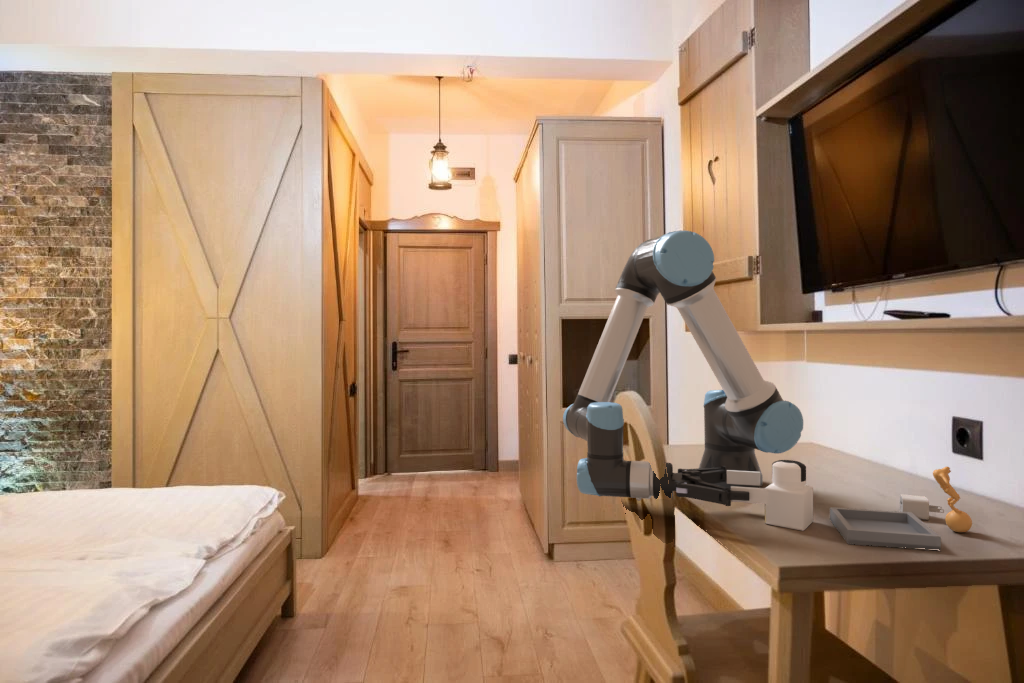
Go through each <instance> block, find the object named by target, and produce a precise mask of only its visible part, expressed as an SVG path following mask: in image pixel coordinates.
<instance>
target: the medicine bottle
mask: <svg viewBox="0 0 1024 683" xmlns="http://www.w3.org/2000/svg"><path fill="white" fill-rule="evenodd" d="M771 482H772V483H770V484H769V485H768V486H766V487H765V488H768V489H769V504H764V524H766V525H770V526H774V527H775V526H776V527H781V528H784V529H785V528H786V529H792V530H798V531H805V530H806V529H807V528H808V527H809V526H810V525H811V524H812V523H813V521H814V487H813V485H809V484H807V466H806V465H805V464H804V463H803V462H800V461H798V460H794V459H793V460H792V459H779V460H775V461H773V462H772V463H771Z"/></svg>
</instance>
